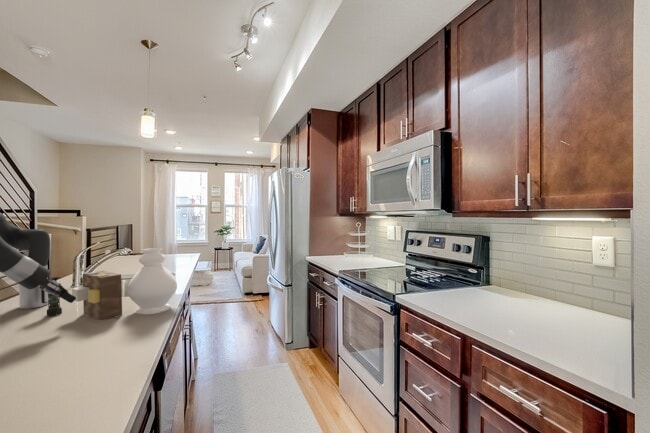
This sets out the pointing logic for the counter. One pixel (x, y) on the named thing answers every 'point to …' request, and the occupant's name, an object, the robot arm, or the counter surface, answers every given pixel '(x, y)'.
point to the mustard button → (94, 295)
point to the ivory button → (80, 293)
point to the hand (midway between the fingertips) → (73, 300)
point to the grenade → (52, 302)
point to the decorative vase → (152, 283)
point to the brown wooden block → (104, 295)
